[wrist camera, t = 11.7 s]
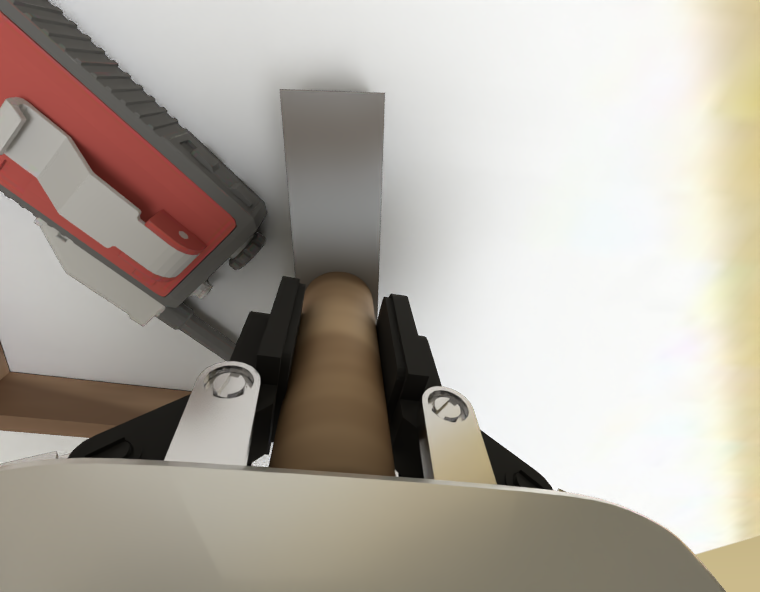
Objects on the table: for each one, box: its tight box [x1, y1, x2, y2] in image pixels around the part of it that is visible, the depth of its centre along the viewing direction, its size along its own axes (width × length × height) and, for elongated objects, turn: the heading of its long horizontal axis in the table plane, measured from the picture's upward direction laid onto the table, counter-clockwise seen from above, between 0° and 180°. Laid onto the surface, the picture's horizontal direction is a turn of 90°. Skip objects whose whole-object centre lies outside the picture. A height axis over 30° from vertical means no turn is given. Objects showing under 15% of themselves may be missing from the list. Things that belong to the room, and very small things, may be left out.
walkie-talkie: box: [0, 0, 267, 362], centre depth 17 cm, size 9×4×20 cm
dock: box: [0, 343, 192, 438], centre depth 16 cm, size 26×14×3 cm, turn 167°
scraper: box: [269, 89, 396, 477], centre depth 13 cm, size 14×3×13 cm, turn 178°
